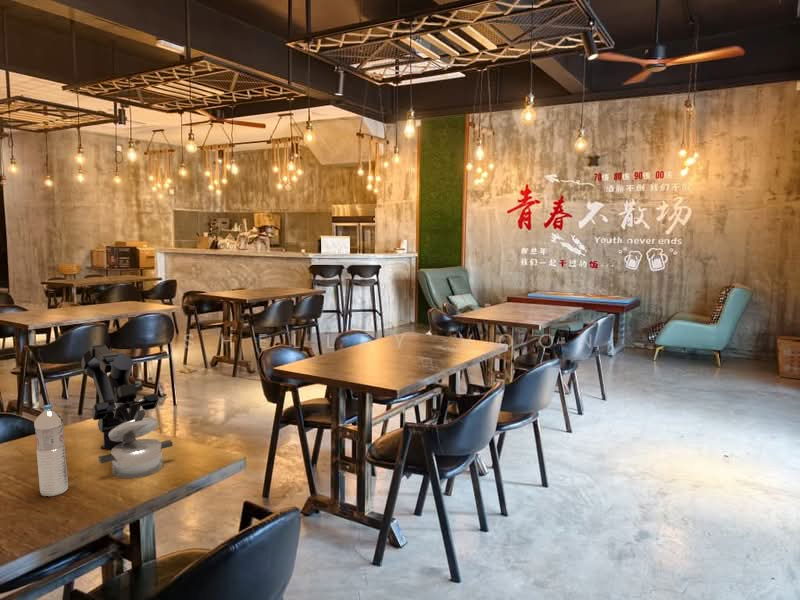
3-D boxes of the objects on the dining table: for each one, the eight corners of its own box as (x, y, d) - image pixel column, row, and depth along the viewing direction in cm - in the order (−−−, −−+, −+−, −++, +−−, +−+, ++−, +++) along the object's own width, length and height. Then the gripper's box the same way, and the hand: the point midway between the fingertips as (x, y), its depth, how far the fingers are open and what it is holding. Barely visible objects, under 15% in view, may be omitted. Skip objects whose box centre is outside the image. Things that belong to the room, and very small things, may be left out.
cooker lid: (105, 445, 176) (104, 440, 176) (152, 434, 185) (151, 430, 185) (116, 420, 164) (115, 415, 164) (166, 410, 173) (164, 405, 173)
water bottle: (58, 497, 157) (51, 409, 154) (34, 497, 157) (27, 409, 154) (73, 486, 163) (67, 402, 161) (50, 486, 164) (43, 402, 161)
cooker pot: (94, 469, 175) (92, 447, 174) (163, 452, 189) (162, 431, 188) (107, 485, 164) (105, 462, 163) (180, 466, 177) (178, 444, 176)
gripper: (91, 378, 173) (103, 422, 166) (155, 368, 185) (168, 409, 178) (87, 398, 179) (98, 441, 172) (148, 387, 192) (161, 427, 185)
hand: (132, 429), depth 177 cm, fingers closed, pressing on cooker lid
